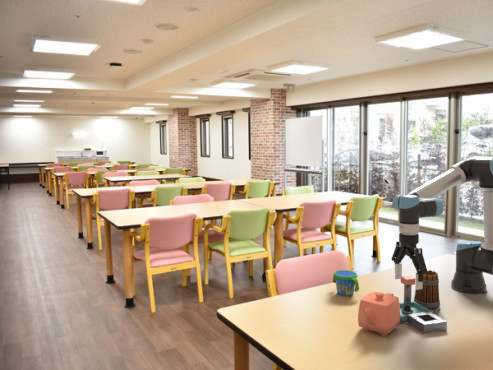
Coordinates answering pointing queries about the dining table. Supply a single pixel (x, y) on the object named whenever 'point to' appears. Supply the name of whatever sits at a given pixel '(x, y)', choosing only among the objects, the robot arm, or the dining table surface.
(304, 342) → the dining table surface
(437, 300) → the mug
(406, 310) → the rod with pink block
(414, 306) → the tray
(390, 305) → the teapot
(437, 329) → the eye block
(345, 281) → the snack cup
